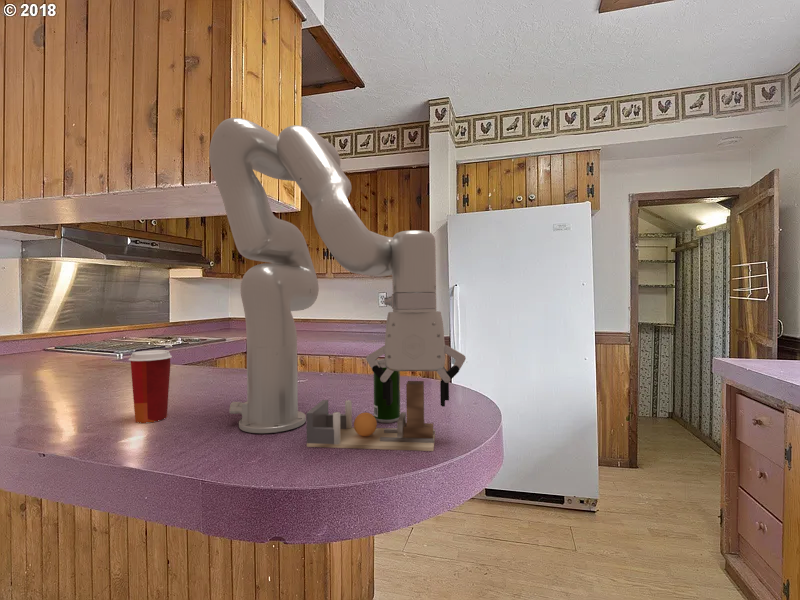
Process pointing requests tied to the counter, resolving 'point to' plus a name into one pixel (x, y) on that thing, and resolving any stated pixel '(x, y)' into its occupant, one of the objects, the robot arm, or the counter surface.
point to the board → (380, 441)
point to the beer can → (380, 409)
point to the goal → (327, 423)
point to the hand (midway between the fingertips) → (416, 403)
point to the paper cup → (150, 384)
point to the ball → (365, 424)
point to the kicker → (414, 414)
